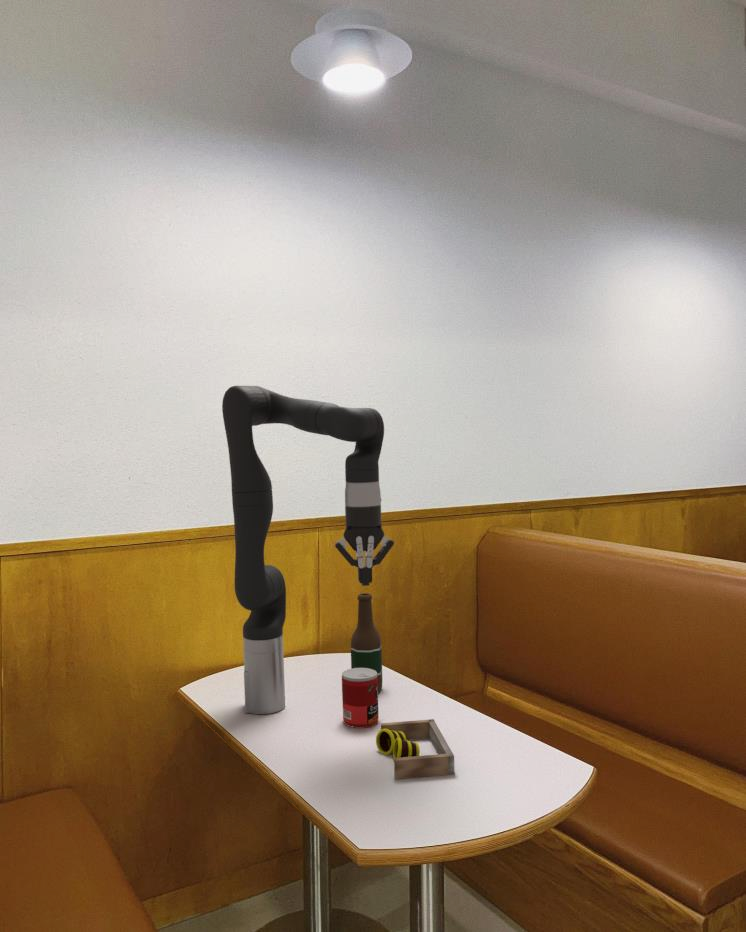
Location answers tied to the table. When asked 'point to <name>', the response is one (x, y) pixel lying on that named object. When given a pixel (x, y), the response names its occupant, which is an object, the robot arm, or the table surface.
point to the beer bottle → (366, 640)
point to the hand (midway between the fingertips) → (365, 584)
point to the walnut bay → (427, 763)
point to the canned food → (360, 697)
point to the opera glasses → (396, 744)
